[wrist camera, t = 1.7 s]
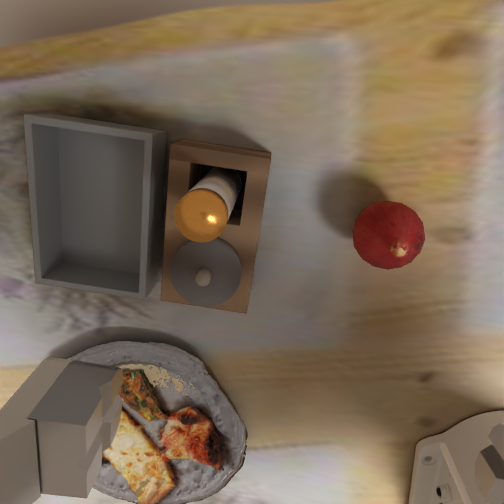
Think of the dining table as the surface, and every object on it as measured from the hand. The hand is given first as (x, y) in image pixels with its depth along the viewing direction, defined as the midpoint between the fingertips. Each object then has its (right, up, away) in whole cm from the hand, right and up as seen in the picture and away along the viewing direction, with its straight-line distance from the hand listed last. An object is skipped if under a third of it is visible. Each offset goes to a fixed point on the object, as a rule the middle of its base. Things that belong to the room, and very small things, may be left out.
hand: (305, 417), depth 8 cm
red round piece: (+11, +6, +28) cm, 31 cm away
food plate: (-14, -17, +39) cm, 44 cm away
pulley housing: (-4, +7, +29) cm, 30 cm away
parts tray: (-15, +8, +29) cm, 33 cm away
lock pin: (-4, +10, +27) cm, 29 cm away
